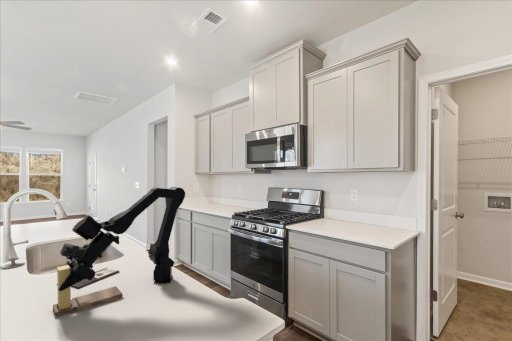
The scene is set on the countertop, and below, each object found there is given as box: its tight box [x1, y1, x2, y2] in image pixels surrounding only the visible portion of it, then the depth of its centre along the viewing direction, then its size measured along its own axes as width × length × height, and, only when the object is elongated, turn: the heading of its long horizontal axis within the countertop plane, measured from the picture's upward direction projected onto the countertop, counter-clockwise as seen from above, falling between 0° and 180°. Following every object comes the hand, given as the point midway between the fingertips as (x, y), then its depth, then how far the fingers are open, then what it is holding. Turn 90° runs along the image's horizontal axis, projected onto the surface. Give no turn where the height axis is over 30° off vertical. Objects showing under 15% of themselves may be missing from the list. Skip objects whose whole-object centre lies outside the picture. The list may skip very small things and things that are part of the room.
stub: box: [56, 264, 72, 311], centre depth 87 cm, size 3×4×13 cm
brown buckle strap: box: [52, 285, 123, 318], centre depth 92 cm, size 19×8×2 cm, turn 133°
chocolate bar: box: [70, 267, 120, 290], centre depth 113 cm, size 9×1×18 cm
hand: (58, 288), depth 86 cm, fingers closed on stub, 4 cm apart
